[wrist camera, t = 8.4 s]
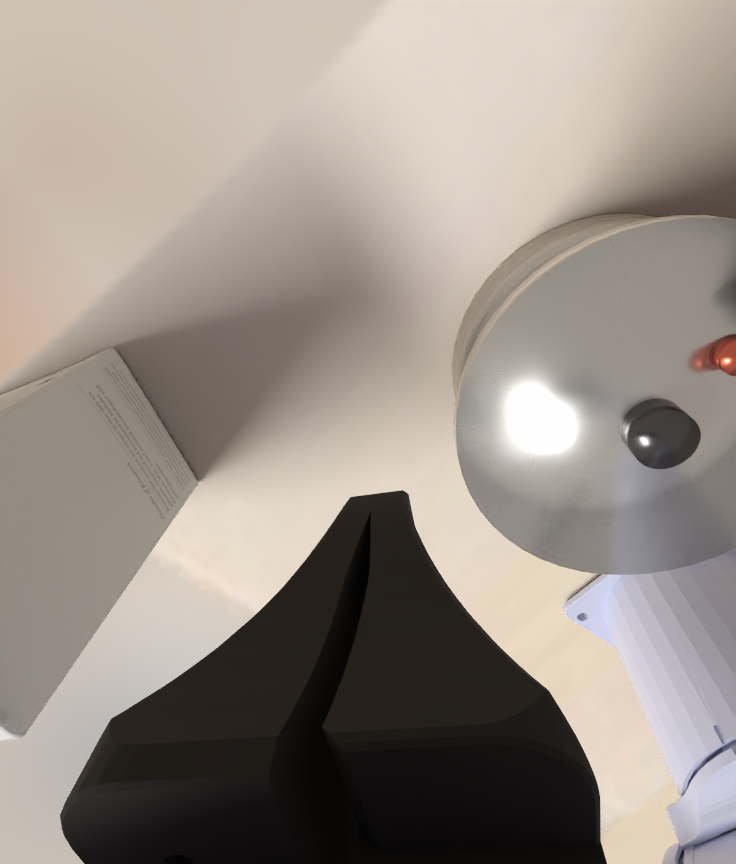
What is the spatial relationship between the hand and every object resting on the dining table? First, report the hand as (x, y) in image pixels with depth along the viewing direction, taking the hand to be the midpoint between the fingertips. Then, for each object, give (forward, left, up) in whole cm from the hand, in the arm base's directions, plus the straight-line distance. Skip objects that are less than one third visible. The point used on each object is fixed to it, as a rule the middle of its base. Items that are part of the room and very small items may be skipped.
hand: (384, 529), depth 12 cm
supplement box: (+9, +11, -11) cm, 18 cm away
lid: (-6, -8, -6) cm, 12 cm away
